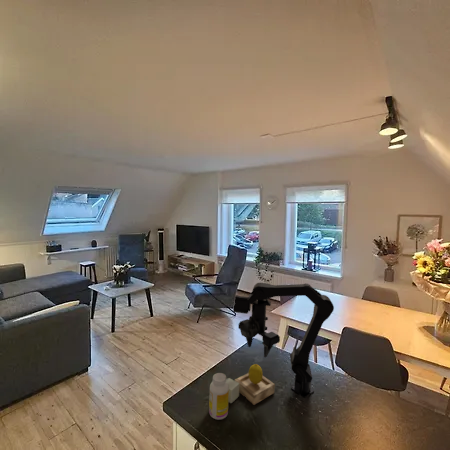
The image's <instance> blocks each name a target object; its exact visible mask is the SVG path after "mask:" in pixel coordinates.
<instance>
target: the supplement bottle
mask: <svg viewBox="0 0 450 450" xmlns="http://www.w3.org/2000/svg"><path fill="white" fill-rule="evenodd" d="M226 380H227V376H226V374H225V373H222V372H217V373H215V374H213V376H212V381H211V383H210V385H209V397H208V398H209V400H208V401H209V403H208V404H209V405H208V413H209V415H210V417H211V418H213V419H215V420H224V419H226V417H227V416H228V413H229V402H228V397H229V386H228V384H227V382H226Z"/></svg>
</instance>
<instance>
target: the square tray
mask: <svg viewBox="0 0 450 450" xmlns="http://www.w3.org/2000/svg"><path fill="white" fill-rule="evenodd" d="M234 381H236V382H238V383H239V394H241V395H242V396H243V397H244V396H245V397H246V398H245V397H244V398H245V399H246V400H248V402H250V403H251V404H252V405H254V406H255V405H256V404H258V403H260V402H261V401H263V400H265V399H266V398H269V397H270V396H271V395H274V394H275V389H276V388H275V386H276V385H275V384H276V383H273V382H272V381H271V380H270V379H269V378H267V377H266V376H264V375H263V376H262V380H261V382H260V383H258V384H254V383H252V382H251V381H250V379H249V372H247V373H245V374H244V375H241V376H239V377H237V378H235V379H234Z"/></svg>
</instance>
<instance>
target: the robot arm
mask: <svg viewBox="0 0 450 450" xmlns="http://www.w3.org/2000/svg"><path fill="white" fill-rule="evenodd" d="M297 296H298V297H299V296H304V297H306V298H307V299H308V300H309V301H311V302H312V304H313V311H312V317H311V319H310V321H309V324H308V326H307V328H306V330H305V332H304V335H303V338H302V340H301V342H300V344H299V346H298V347H297V348H296V347H295V346H293V347H292V351H291V353H289V357H290V358H289V359H290V365H291V366H290V367H291V370H292V372H293V374H295V375H294V385H292V386H291V387H290V388H291V390H292V391H294V392H295V393H297V394H298V395H300V396H301V397H302V398H306V397H308V396H310V395H311V394H312V393H314V392H315V389H313V388H312V386H311V385H312V380H313V375H312V368H311V366H310V364H309V360H310V354H311V352H312V349H313V347H314V344H315V342H316V340H317V338H318V336H319V333H320V331H321V328H322V327H323V324H324V322H326V321H327V320H328V319H329V318H330V316H331V314H333V312H334V309H335V306H334V304H333V301H331V299H330V297H329V296H328V295H325V294H322V293H320V291H318V290H317V289H315V288H313V287H312V286H311V284H309V283H301V284H277V285H276V284H271V283H268V282H267V283H266V282H256V283H255V284H254V286H253V287H252V290H251V293H249V295H248V296H242V295H237V294H236V295H235V297H234V302H233V309H232V310H233V313H236V314H237V313H238V314H249V312H251V316H249V318H248V319H243V320H241V321H239V323H238V329H239V330H240V333H241V336H242V337H244V338H245V340H246V343H247V347H248V348H252V344H253V339H254V338H255V337H256V336H257V335H259V336H261V337H262V343H261V344H262V345H263V357H264V358H267V357H268V356H269V353H270V352H271V349H272V348H273V346H274V345H276V344H279V343H280V341H281V336H280V335H279V334H277V333H276V332H275V331H270V332H266V331H267V330H268V326H266V323H267V322H266V321H268V320H269V317H268V316H267V307H271V306H272V302H271V300H270V299H272V298H275V297H297Z"/></svg>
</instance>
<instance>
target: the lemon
mask: <svg viewBox="0 0 450 450" xmlns="http://www.w3.org/2000/svg"><path fill="white" fill-rule="evenodd" d="M248 373H249V379H250V381H251V382H252V383H254V384H258V383H260V382H261V380H262V376H264V375H263V369H262V367H261V366H260V365H259V364H257V363H255V364H252V365H250V367H249V369H248Z"/></svg>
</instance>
